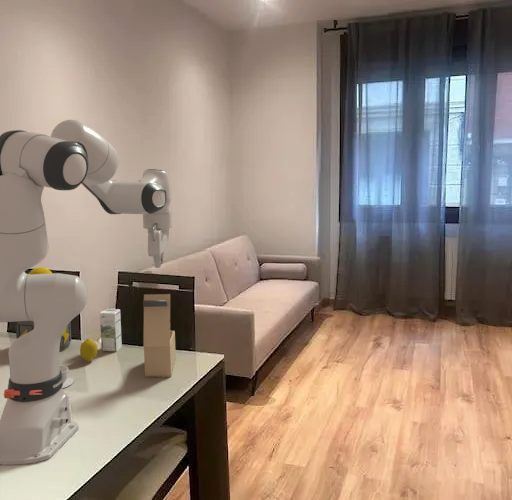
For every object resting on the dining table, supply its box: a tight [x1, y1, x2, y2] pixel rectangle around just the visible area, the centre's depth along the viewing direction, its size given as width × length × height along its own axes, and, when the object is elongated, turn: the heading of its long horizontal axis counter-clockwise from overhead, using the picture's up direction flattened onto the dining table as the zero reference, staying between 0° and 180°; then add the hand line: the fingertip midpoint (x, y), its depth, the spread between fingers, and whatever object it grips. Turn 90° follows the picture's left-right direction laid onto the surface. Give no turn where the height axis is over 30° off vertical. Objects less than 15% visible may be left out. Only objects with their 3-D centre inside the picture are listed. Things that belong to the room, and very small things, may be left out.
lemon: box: [79, 338, 98, 362], centre depth 173 cm, size 6×6×8 cm
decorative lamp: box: [14, 266, 72, 353], centre depth 186 cm, size 19×19×30 cm
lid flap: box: [142, 293, 171, 348], centre depth 156 cm, size 16×8×6 cm
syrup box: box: [99, 308, 123, 353], centre depth 185 cm, size 6×6×14 cm
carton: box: [143, 330, 176, 379], centre depth 166 cm, size 16×8×10 cm, turn 4°
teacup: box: [60, 365, 74, 389], centre depth 154 cm, size 10×10×5 cm
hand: (159, 265), depth 162 cm, fingers open, 4 cm apart
